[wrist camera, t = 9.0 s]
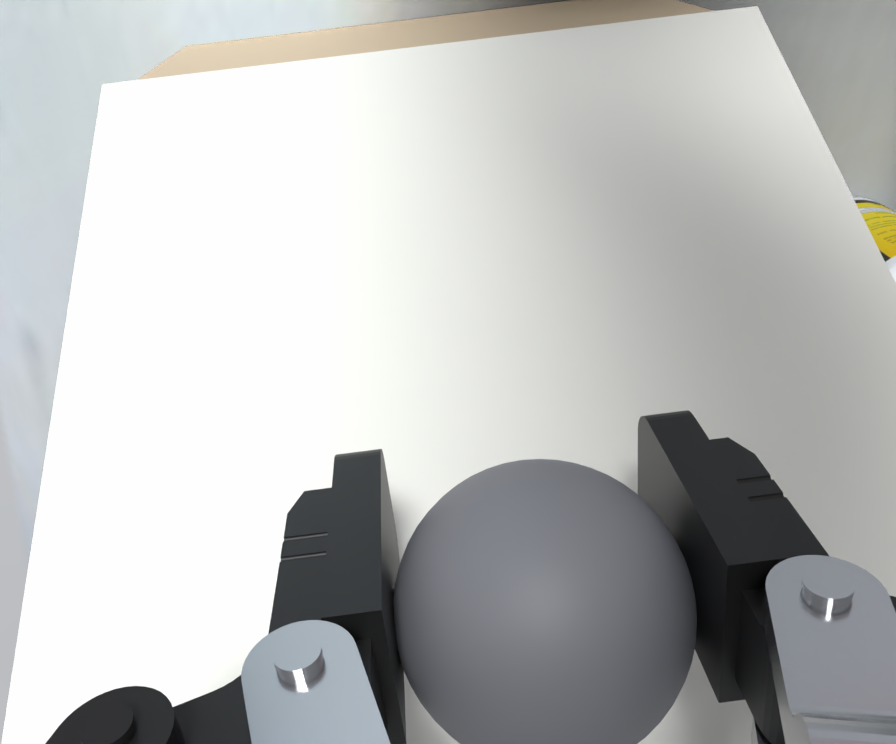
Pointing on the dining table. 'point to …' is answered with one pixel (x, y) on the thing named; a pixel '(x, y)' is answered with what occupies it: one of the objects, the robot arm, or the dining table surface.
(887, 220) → the supplement bottle
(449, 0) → the dining table surface
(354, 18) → the dining table surface
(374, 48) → the carton
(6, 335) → the dining table surface
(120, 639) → the lid
